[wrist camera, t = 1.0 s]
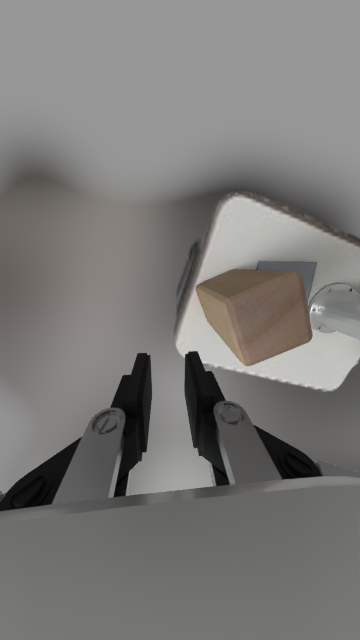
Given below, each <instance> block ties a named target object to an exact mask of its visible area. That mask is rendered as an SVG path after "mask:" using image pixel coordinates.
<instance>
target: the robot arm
mask: <svg viewBox="0 0 360 640" xmlns="http://www.w3.org/2000/svg"><path fill="white" fill-rule="evenodd" d="M308 312H309V318H310V324H311V326H312V327H313V328H314V329H315V330H317V331H320V332H323V333H331V332H335V331H338V332H341V333H343V334H346V335H349V336H352V337H354V338H357V339H360V293H358V292H356V291H355V290H354V288H353V287H351V286H350V285H347V284H341V283H336V284H331V285H329V286H326V287H325V288H323V289H321V290H320V291H319V292H318V293H317V294H316V295H315V296H314V298H313V299H312V301H311V303H310V305H309V308H308ZM185 399H186V405H187V411H188V417H189V423H190V429H191V435H192V441H193V447H194V448H198V453H199V456H203V457H204V458H205V459H207V460H208V461H209V467H210V472H211V477H212V481H213V487H206V488H195V489H186V490H176V491H167V492H158V493H149V494H139V495H130V496H128V493H129V486H130V479H131V469H132V468H133V467H134V466H135V465H136V464H137V463H138V461H141V460H142V452H146V451H147V442H148V431H149V420H150V410H151V400H152V382H151V360H150V355H147V353H138V354H137V357H136V360H135V364H134V367H133V370H132V373H131V375H123V376H122V379H121V381H120V384H119V387H118V389H117V392H116V394H115V397H114V399H113V402H112V405H111V407H110V408H107V409H104V410H102V411H100V412H98V413H97V414H95V416H94V417H92V418H91V420H90V421H89V423H88V425H87V427H86V430H85V432H84V434H83V436H82V437H81V438H79V439H78V440H76V441H75V442H73V443H72V444H70V445H69V446H68V447H66V448H65V449H63V450H62V451H60V452H59V453H57V454H56V455H54V456H53V457H51V458H50V459H48V460H47V461H46V462H44V463H43V464H41V465H40V466H39V467H37V468H36V469H34V470H32V471H31V472H29V473H28V474H27V475H25V476H24V477H23V478H21V479H20V480H19V481H18V482H16V483H15V485H13V486H12V488H11V489H10V490H9V491H8V492H7V493H4V494H3V493H2V491H0V640H360V473H359V472H356V471H353V470H349V469H346V468H343V467H339V466H336V465H333V464H329V463H326V462H323V461H319V460H317V462H316V463H315V462H313V461H312V460H311V459H310V458H309V457H308V456H307V455H305V454H304V453H303V452H301V451H299V450H298V449H296V448H294V447H292V446H291V445H289V444H287V443H285V442H283V441H282V440H280V439H278V438H276V437H275V436H273V435H271V434H269V433H267V432H266V431H264V430H262V429H260V428H258V427H257V426H255V425H253V424H252V422H251V420H250V418H249V416H248V414H247V413H246V411H245V410H244V409H243V408H242V407H241V406H240V405H239V404H237V403H235V402H232V401H226V400H225V398H224V396H223V394H222V392H221V389H220V387H219V385H218V383H217V381H216V379H215V377H214V374H213V373H212V371H205V369H204V367H203V364H202V362H201V359H200V357H199V354H198V352H197V351H193V352H188V354H185Z"/></svg>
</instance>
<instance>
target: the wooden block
mask: <svg viewBox="0 0 360 640" xmlns="http://www.w3.org/2000/svg"><path fill="white" fill-rule="evenodd" d="M196 292H197V295H198V297H199V300H200V303H201V305H202V308H203V310H204V313H205V316H206V318H207V321H208V322H209V324H210V325H211V326H212V327H213V329H214V330H215V331H216V332H217V333H218V335H219V336H220V337H221V338H222V340H223V341H224V342H225V343H226V344H227V346H228V347H229V348H230V349H231V351H232V352H233V353H234V354H235V355H236V357H237V358H238V359H239V360H240V361H241V362H242V363H243V364H244V365H245V366H251V365H254V364H256V363H259V362H261V361H264V360H266V359H269V358H271V357H274V356H276V355H278V354H281V353H283V352H286V351H288V350H291V349H293V348H296V347H298V346H301V345H303V344H305V343H308V342H309V341H310V340H311V339H312V330H311V324H310V318H309V312H308V306H307V300H306V293H305V287H304V281H303V277H302V275H301V274H300V273H299V272H298V271H265V270H230V271H228V272H226V273H223V274H221V275H219V276H217V277H214V278H212V279H210V280H207V281H205V282H203V283H200V284H198V285H197V286H196Z"/></svg>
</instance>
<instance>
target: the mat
mask: <svg viewBox="0 0 360 640" xmlns="http://www.w3.org/2000/svg"><path fill="white" fill-rule="evenodd" d="M316 265H317V262H258V267H257V270H265V271H298V272H299V273H300V274H301V275H302V277H303V281H304V287H305V293H306V300H307V302H308V298H309V294H310V290H311V286H312V281H313V277H314V273H315V269H316Z"/></svg>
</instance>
